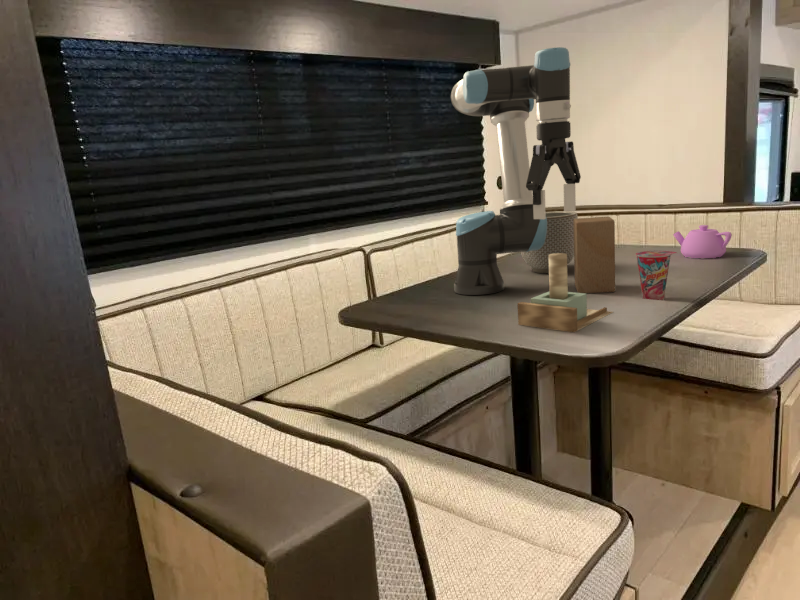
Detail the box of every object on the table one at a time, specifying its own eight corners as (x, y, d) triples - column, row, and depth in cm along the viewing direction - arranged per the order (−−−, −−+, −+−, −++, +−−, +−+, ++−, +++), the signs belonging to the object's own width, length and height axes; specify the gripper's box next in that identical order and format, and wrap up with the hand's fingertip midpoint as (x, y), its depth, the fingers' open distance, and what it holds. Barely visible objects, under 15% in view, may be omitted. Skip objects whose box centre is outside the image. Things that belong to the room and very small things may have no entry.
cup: (650, 304, 148) (650, 257, 145) (628, 298, 156) (628, 253, 153) (681, 299, 150) (682, 252, 147) (658, 293, 158) (659, 248, 155)
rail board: (518, 328, 137) (517, 303, 136) (560, 309, 150) (559, 286, 149) (574, 336, 128) (573, 309, 126) (613, 315, 141) (613, 291, 139)
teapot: (683, 251, 216) (684, 222, 214) (740, 255, 200) (742, 223, 198) (662, 257, 209) (662, 226, 206) (719, 261, 193) (720, 228, 190)
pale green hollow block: (531, 323, 137) (530, 298, 135) (551, 314, 143) (551, 290, 141) (567, 328, 130) (566, 302, 129) (586, 319, 137) (586, 293, 135)
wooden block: (615, 292, 164) (614, 219, 159) (577, 294, 166) (576, 222, 161) (610, 284, 173) (609, 216, 169) (574, 286, 175) (573, 218, 171)
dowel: (546, 316, 136) (545, 255, 133) (555, 312, 139) (554, 252, 136) (562, 318, 134) (561, 256, 130) (571, 313, 136) (570, 253, 133)
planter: (569, 277, 189) (567, 217, 185) (510, 275, 200) (507, 218, 195) (585, 265, 205) (584, 210, 201) (530, 265, 216) (528, 212, 212)
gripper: (537, 121, 124) (540, 223, 129) (594, 118, 141) (595, 208, 146) (507, 125, 129) (511, 222, 135) (566, 121, 146) (567, 207, 151)
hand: (555, 215), depth 140 cm, fingers open, 13 cm apart
